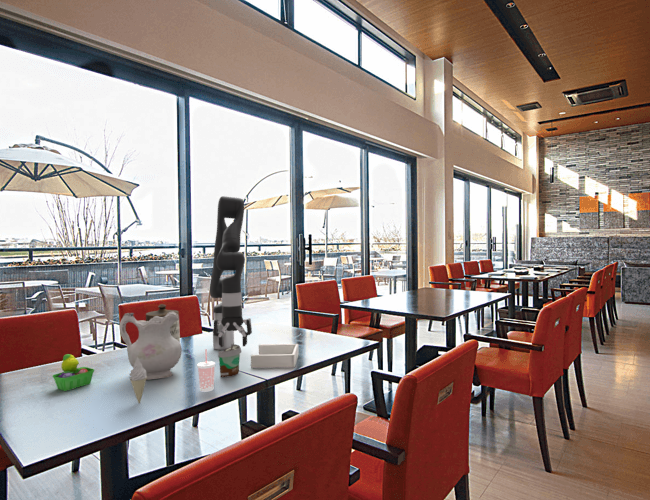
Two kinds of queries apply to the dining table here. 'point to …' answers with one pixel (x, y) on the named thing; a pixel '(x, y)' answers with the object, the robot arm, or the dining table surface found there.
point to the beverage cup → (206, 374)
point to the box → (275, 356)
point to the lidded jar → (161, 313)
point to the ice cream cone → (138, 379)
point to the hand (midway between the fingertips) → (233, 346)
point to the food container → (229, 361)
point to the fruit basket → (72, 374)
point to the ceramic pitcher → (153, 344)
